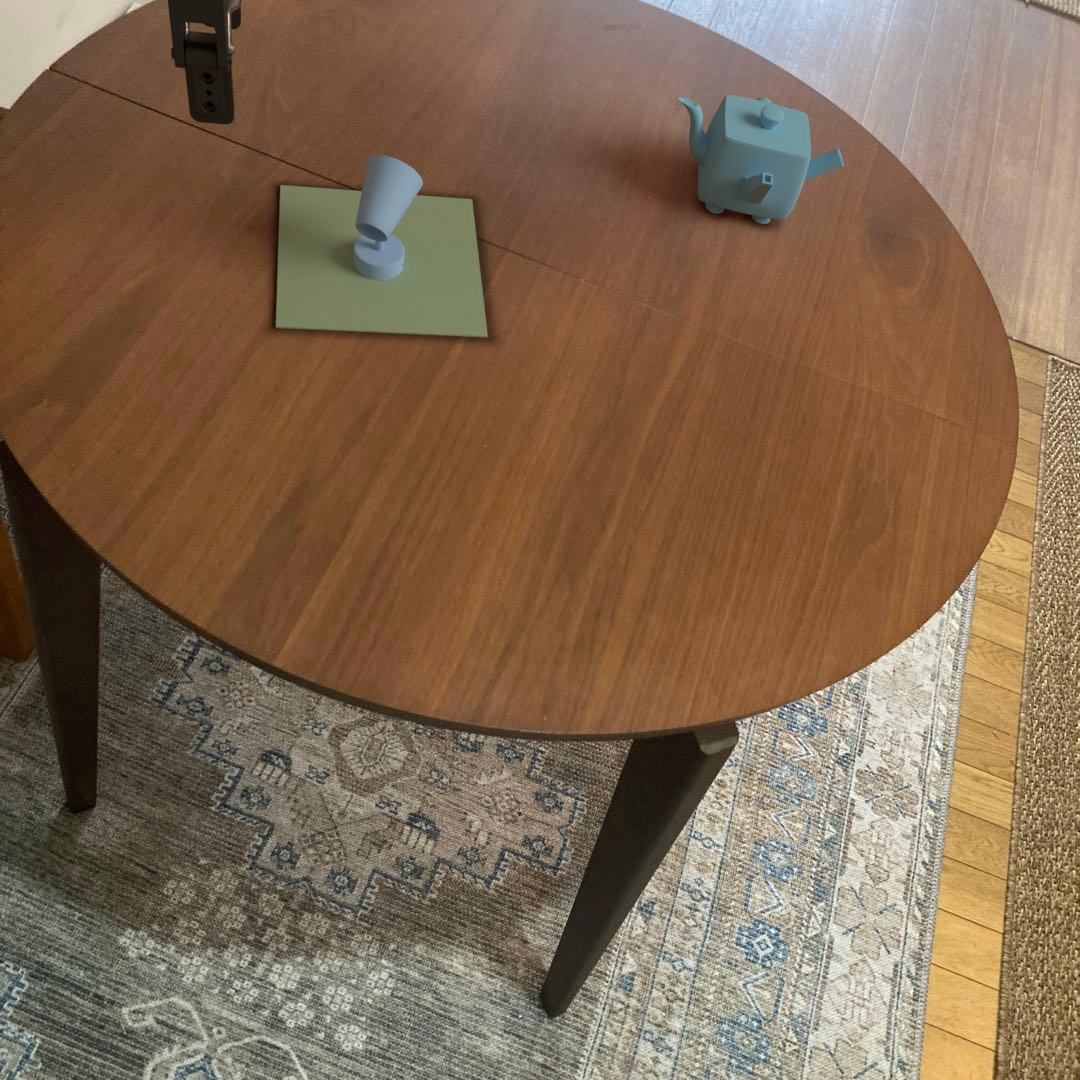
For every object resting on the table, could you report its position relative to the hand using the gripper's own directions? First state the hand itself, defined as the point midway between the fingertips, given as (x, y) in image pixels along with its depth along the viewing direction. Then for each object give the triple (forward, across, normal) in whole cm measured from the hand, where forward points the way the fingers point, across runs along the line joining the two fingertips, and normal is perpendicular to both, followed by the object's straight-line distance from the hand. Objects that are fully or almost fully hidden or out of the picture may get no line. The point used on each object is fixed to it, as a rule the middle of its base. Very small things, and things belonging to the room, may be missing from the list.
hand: (217, 70), depth 57 cm
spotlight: (+30, -19, +11) cm, 37 cm away
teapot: (+30, -31, +48) cm, 65 cm away
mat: (+30, -19, +11) cm, 37 cm away
